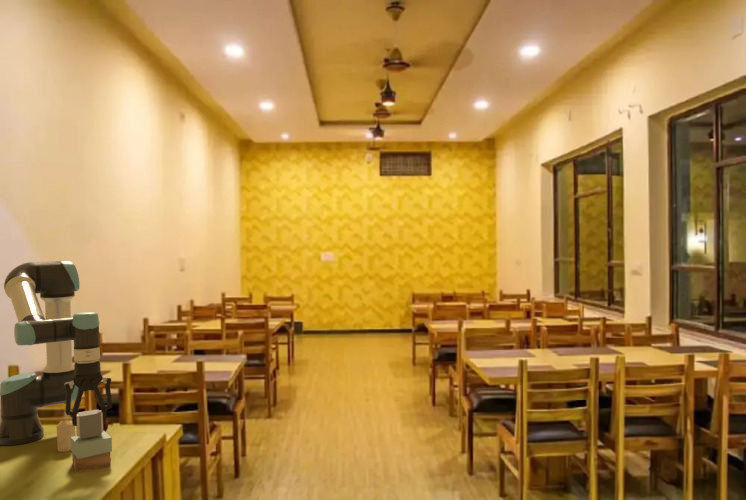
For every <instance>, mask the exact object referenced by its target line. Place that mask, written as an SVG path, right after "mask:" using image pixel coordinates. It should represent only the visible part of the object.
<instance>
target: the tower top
mask: <svg viewBox="0 0 746 500" xmlns="http://www.w3.org/2000/svg"><path fill="white" fill-rule="evenodd" d="M112 440H113V439H112V436H111V435H110V434H108V433H107V431H106V432H105V431H104V430H103V433H102V435H100V436H95V437H89V438H83V439H81V438H80V437H77V435H75V436H73V437H71V451H70V452H71V454H72V453H73V454H74V455H75V456H76V458H77V459H81V458H85V457H90V456H94V455H99V454H104V453H108V452H110V453H112V452H113V443H112Z"/></svg>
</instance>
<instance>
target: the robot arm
mask: <svg viewBox="0 0 746 500" xmlns="http://www.w3.org/2000/svg"><path fill="white" fill-rule="evenodd" d="M78 273H79V272H78V270H77V267H76V264H74V262H72V261H67V260H64V261H63V260H62V261H61V260H56V261H55V260H54V261H38V262H37V261H35V262H34V261H33V262H32V261H31V262H30V261H29V262H25V263H22V264H19V265H18V266H16V267H15V268H13V269H12V270H11V271H10V272H9V273H8V274H7V276H6V278H5V279H4V283H3V287H4V292H5V294H6V296H7V297H8V299H11V300H10V301H11V303H12V306H13V310H14V312H15V316H16V319H17V321H18V322H16V323H15V324H14V327H13V328H14V329H13V330H14V341H15V344H16V345H17V346H32V345H41V344H45V347H46V352H45V353H46V366H44V367H43V369H42V373H41V375H37V373H36V372H24V373H20V374H14V375H12V376H9V377H7V378H4V379H3V380H2V381H1V382H0V446H16V445H22V444H27V443H32V442H35V441H38V440H40V439H43V437H44V435H45V434H44V433H45V432H44V427H43V425H42V423H41V420H40V417H39V415H38V413H39V412H38V408H44V407H51V406H55V405H60V404H61V405H62V404H63V405H65V411H64V412H65V414H66V415H67V416H71V421H72V424H73V426H75V430H76V431H75V434H76V436H77V437H80V419H79V414H78V411H79V409H80V404H81V401H82V397H83V395H84V393H85V392H88V391H93V392H94V395H95V397H96V400H97V402H98V405H99V407H100V409H101V410H99V411H100V413H101V430H102V433H103V421H106V420H107V411H108V410H109V409H112V407H113V403H112V402H113V401H112V392H111V382H112V378H111V377H110V376H103V375H102V373H101V370H102V369H101V361H100V359H101V351H100V350H101V349H100V348H101V347H100V320H99V314H98V313H97V312H96V311H95V312H94V311H85V312H83V311H82V312H76V313H74V314H73V315H71V313H72V312H71V311H72V310H71V307H72V306H71V302H72V301H71V300H73V298H74V297H75V292H79V290H80V285H81V284H80V277H79V274H78ZM37 294H39V296H40V297H39V299H41V300H42V301H43V302H44V309H45V310H44V311H45V312H44V313H45V314H44V313H43V310H42V307H41V304H40V302H39V299H38V297H37ZM72 341H73V342H72ZM72 343H73V346H72ZM72 348H73V349H72ZM72 351H73V352H72ZM72 353H73V354H72ZM73 361H74V363H73ZM101 382H102V383H103V384H104V391H105V398H106V404H105V402H104V400H103V397H102V395H101V393H100V389H99V385H100V384H101ZM72 402H74V404H73V407H72V406H71V405H72ZM71 407H72V408H71ZM71 409H72V410H71Z"/></svg>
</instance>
